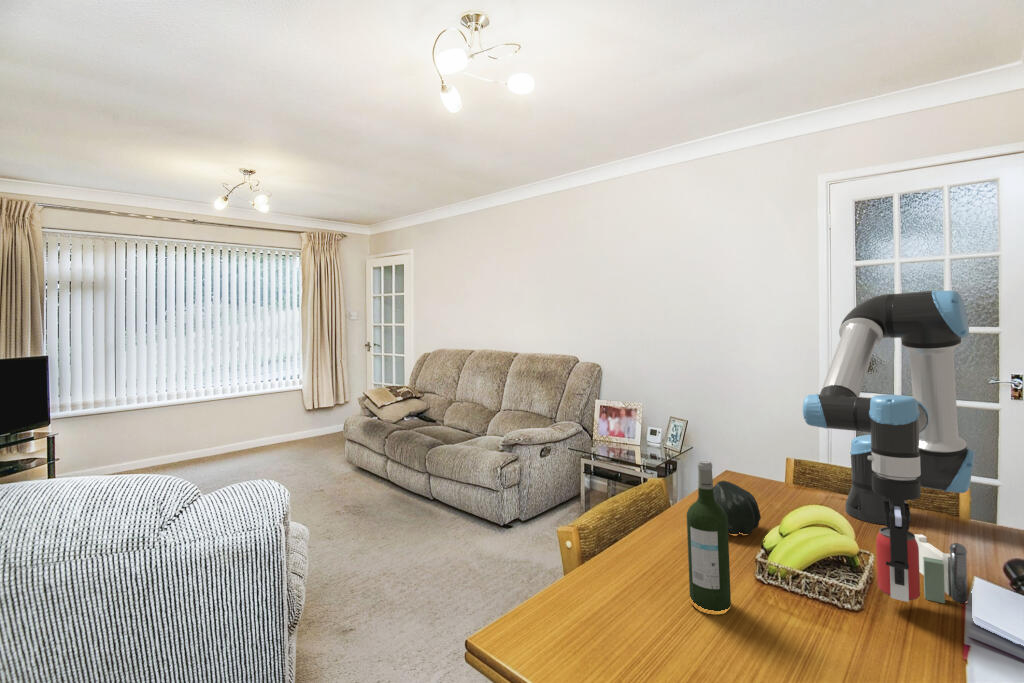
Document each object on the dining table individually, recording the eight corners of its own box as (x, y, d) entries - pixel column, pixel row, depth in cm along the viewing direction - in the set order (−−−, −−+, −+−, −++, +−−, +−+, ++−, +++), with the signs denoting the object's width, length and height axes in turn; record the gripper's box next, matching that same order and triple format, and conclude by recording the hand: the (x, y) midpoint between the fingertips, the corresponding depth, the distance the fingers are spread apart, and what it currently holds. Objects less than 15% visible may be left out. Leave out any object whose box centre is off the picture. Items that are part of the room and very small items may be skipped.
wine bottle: (729, 597, 103) (723, 457, 102) (733, 618, 96) (727, 467, 95) (689, 592, 106) (684, 455, 105) (690, 612, 98) (684, 466, 97)
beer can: (928, 603, 92) (926, 540, 92) (888, 600, 93) (887, 538, 93) (907, 584, 98) (905, 526, 98) (870, 582, 100) (869, 525, 99)
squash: (773, 508, 136) (733, 465, 141) (768, 530, 124) (724, 482, 128) (733, 533, 142) (696, 491, 147) (725, 557, 130) (684, 510, 135)
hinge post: (949, 595, 100) (948, 539, 100) (967, 599, 98) (965, 542, 98) (951, 601, 98) (950, 544, 97) (969, 605, 96) (967, 547, 96)
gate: (957, 595, 100) (956, 557, 99) (948, 595, 100) (947, 556, 100) (923, 569, 110) (922, 534, 110) (915, 568, 111) (914, 534, 111)
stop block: (924, 594, 101) (923, 556, 100) (943, 598, 99) (942, 560, 99) (925, 599, 99) (924, 560, 99) (944, 603, 97) (943, 564, 97)
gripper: (871, 460, 105) (874, 565, 106) (872, 485, 90) (875, 608, 90) (915, 464, 101) (918, 574, 101) (925, 492, 85) (928, 621, 86)
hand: (898, 590), depth 96 cm, fingers closed on beer can, 6 cm apart
